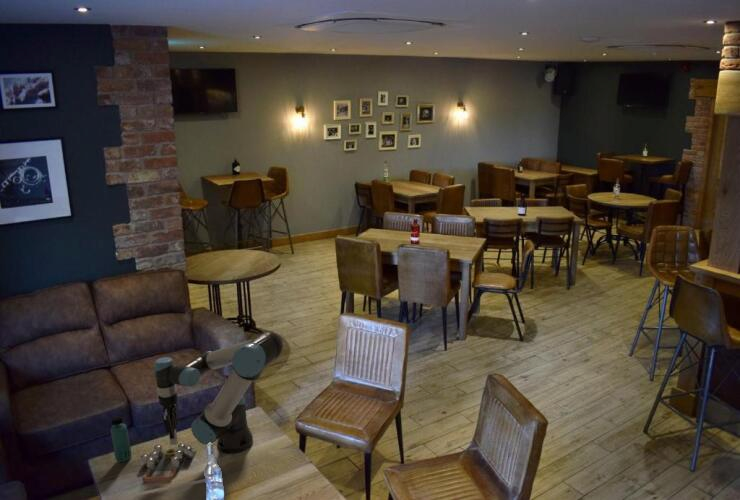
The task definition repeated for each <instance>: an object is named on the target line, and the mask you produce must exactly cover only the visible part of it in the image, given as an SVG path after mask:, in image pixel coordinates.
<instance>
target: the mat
mask: <svg viewBox="0 0 740 500" xmlns="http://www.w3.org/2000/svg"><path fill="white" fill-rule="evenodd" d="M192 453H193V459H192V460H186V458H185V457H184V458H183V461H184V462H183V463H182V464H180V469H179V470H178V471H188V470H189V468H190V467H191V466H192V465H191V464H192V463H193V460H194V458H195V457H196V455H197V453H198V451H197V450H196V451H193V450H192ZM148 456H149V457H151V456H150V453H149V454H148ZM155 468H156V470H155V471H154V472H167V471H169V472H172V471H173V470H172V463H171V460H166V458H165V452H163V457H162V458H161V459H159V464H158V465H155ZM147 471H148V469H143V468H142V466H141V468H140V469H139V470H138V473H146V472H147Z"/></svg>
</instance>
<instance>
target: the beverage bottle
mask: <svg viewBox="0 0 740 500" xmlns="http://www.w3.org/2000/svg"><path fill="white" fill-rule="evenodd" d="M123 422H124V420H123V417H122V416H121V415H118V416H115V417H113V418H112V419H111V424H112V426H111V428H110V433H111V439H112V440H111V441H112V446H113V452H114V459H115V461H116V462H118V463H121V462H122V463H123V462H127V461H129V460H131V458H132V450H131V443H130V439H129V438H130V437H129V432H128V426H127V424H125V423H123Z"/></svg>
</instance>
